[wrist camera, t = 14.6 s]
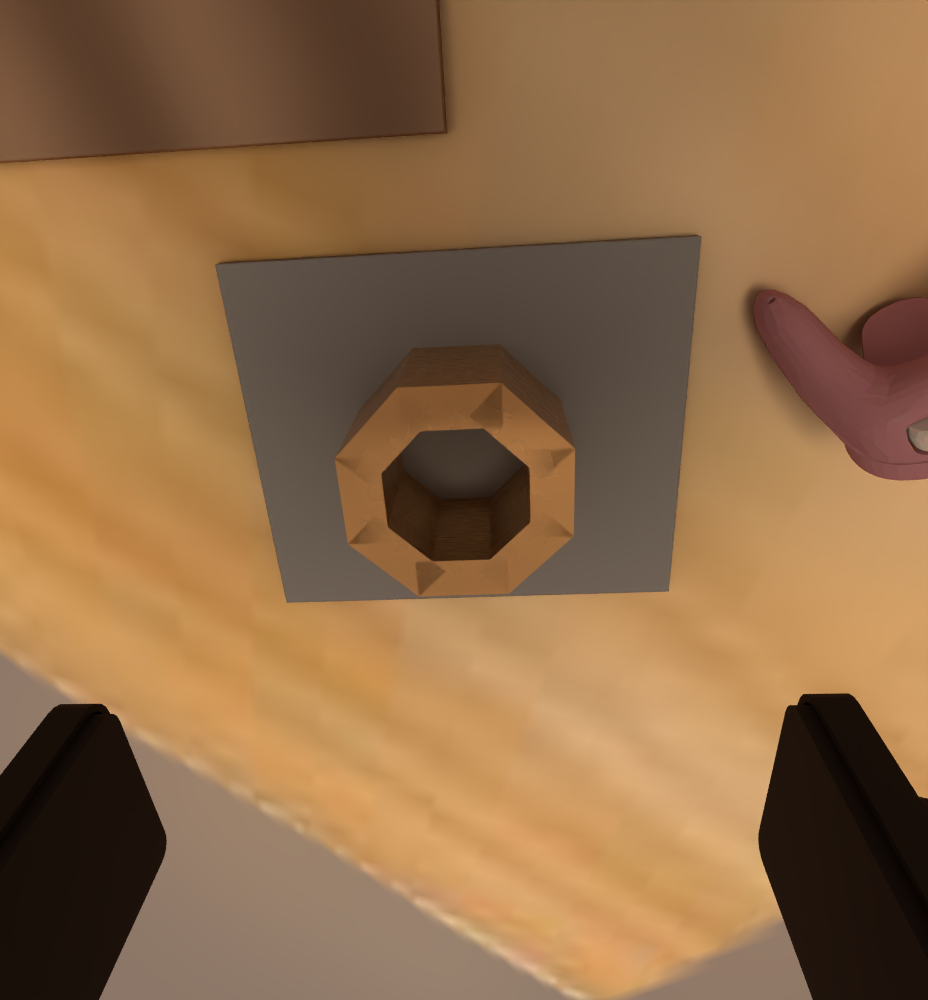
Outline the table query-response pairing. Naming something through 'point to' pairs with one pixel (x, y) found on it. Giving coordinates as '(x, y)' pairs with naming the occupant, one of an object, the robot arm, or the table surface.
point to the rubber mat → (472, 452)
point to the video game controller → (859, 379)
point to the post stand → (214, 74)
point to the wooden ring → (468, 521)
